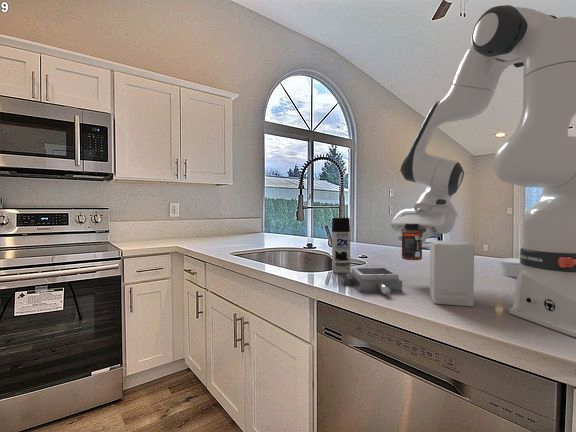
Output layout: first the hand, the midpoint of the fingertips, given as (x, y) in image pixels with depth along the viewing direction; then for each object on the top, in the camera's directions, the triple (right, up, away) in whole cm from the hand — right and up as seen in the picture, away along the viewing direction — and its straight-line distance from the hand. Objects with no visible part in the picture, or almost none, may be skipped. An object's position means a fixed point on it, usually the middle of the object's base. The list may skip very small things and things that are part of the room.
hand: (410, 240), depth 100 cm
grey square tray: (-14, -14, -6) cm, 20 cm away
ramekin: (+40, -13, +9) cm, 43 cm away
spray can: (-19, -13, +18) cm, 29 cm away
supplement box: (+3, -14, -19) cm, 24 cm away
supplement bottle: (+1, -6, 0) cm, 6 cm away
